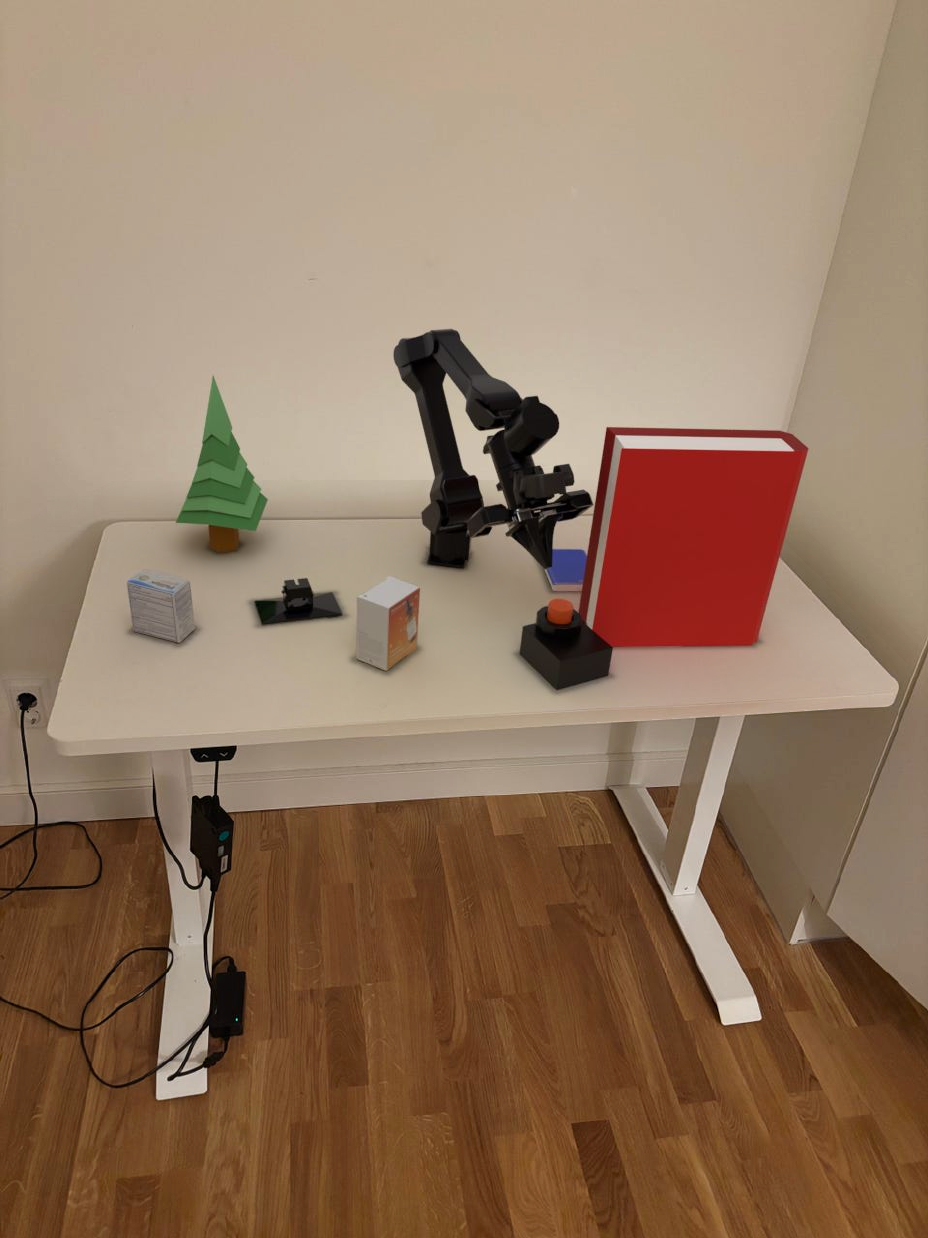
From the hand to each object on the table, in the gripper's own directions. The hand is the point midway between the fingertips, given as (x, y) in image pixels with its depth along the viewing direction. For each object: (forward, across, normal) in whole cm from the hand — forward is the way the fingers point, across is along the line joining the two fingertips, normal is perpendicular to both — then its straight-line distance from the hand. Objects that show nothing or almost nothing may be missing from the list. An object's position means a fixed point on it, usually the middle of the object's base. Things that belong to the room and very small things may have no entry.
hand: (548, 567), depth 140 cm
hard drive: (-3, +17, +21) cm, 27 cm away
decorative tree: (-25, -34, +43) cm, 60 cm away
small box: (+5, -22, +14) cm, 27 cm away
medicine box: (-8, -50, +26) cm, 57 cm away
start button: (+7, 0, +2) cm, 8 cm away
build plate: (-7, -30, +26) cm, 40 cm away
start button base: (+14, 0, +4) cm, 15 cm away
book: (+13, +20, +5) cm, 25 cm away
